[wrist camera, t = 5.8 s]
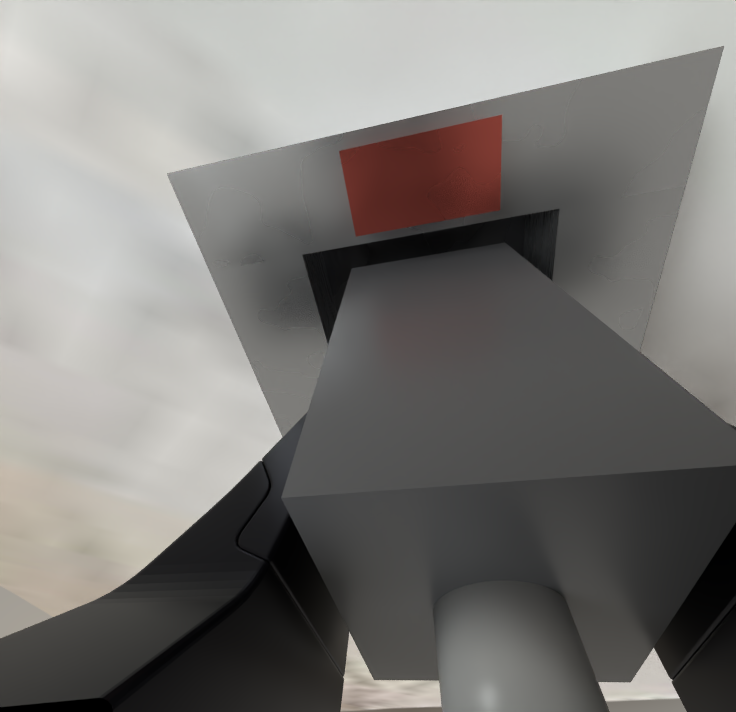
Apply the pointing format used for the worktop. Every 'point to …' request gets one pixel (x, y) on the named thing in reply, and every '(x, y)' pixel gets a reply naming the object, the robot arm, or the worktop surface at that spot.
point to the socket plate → (453, 207)
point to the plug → (502, 485)
